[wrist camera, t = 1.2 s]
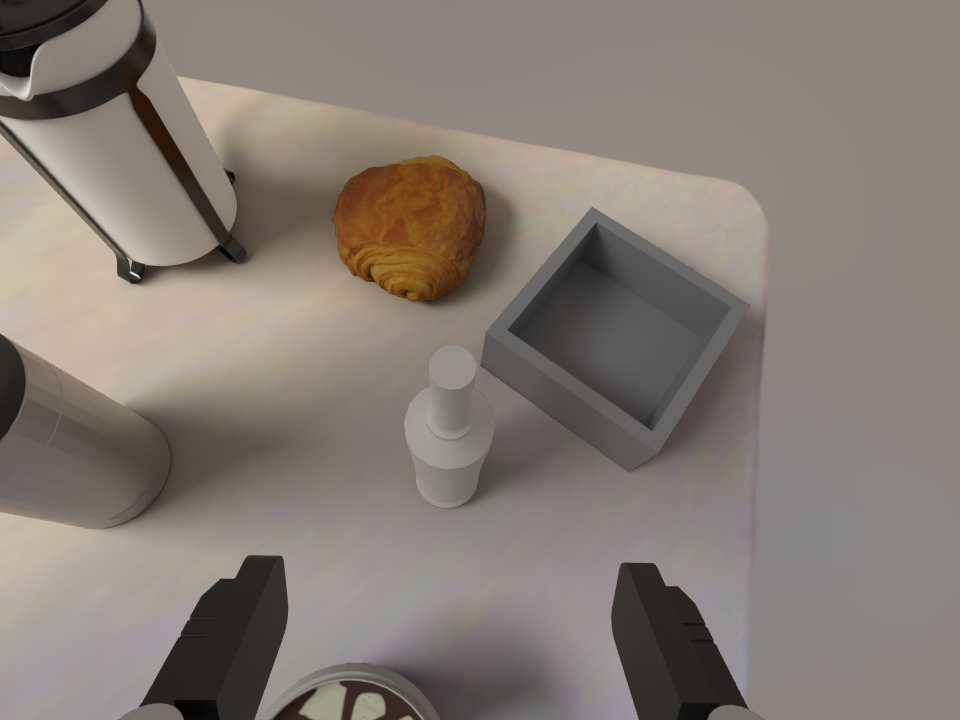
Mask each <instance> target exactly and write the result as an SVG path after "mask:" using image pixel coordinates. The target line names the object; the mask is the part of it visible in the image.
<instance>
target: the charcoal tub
mask: <svg viewBox="0 0 960 720" xmlns="http://www.w3.org/2000/svg"><path fill="white" fill-rule="evenodd" d="M750 306H751V305H749V304H747V303H746V302H744V301H743V300H741V299H739V298H738V297H736V296H735V295H733V294H731V293H730V292H728V291H727V290H725V289H723V288H722V287H720V286H719V285H717V284H715V283H714V282H712V281H711V280H709V279H707V278H706V277H704V276H703V275H701V274H699V273H698V272H696V271H694V270H693V269H691V268H690V267H688V266H686V265H685V264H683V263H682V262H680V261H678V260H677V259H675V258H674V257H672V256H670V255H669V254H667V253H666V252H664V251H662V250H661V249H659V248H658V247H656V246H654V245H653V244H651V243H650V242H648V241H646V240H645V239H643V238H641V237H640V236H638V235H637V234H635V233H633V232H632V231H630V230H629V229H627V228H625V227H624V226H622V225H621V224H619V223H617V222H616V221H614V220H613V219H611V218H609V217H608V216H606V215H605V214H603V213H601V212H600V211H598V210H597V209H595V208H593V207H592V208H591V209H590V210H589V211H588V212H587V213H586V215H585V216H584V217H583V218H582V219H581V221H580V222H579V223H578V224H577V225H576V226H575V228H574V229H573V230H572V231H571V232H570V234H569V235H568V236H567V237H566V238H565V240H564V241H563V242H562V243H561V244H560V245H559V247H558V248H557V249H556V250H555V251H554V253H553V254H552V255H551V256H550V257H549V258H548V260H547V261H546V262H545V263H544V264H543V266H542V267H541V268H540V269H539V270H538V271H537V273H536V274H535V275H534V276H533V277H532V279H531V280H530V281H529V282H528V283H527V284H526V286H525V287H524V288H523V289H522V290H521V292H520V293H519V294H518V295H517V296H516V298H515V299H514V300H513V301H512V302H511V303H510V305H509V306H508V307H507V308H506V309H505V311H504V312H503V313H502V314H501V315H500V316H499V318H498V319H497V320H496V321H495V322H494V324H493V325H492V326H491V327H490V328H489V329H488V331H487V332H486V336H485V342H484V348H483V354H482V360H481V366H482V367H483V368H485V369H486V370H488V371H489V372H490V373H492V374H493V375H494V376H496V377H497V378H499V379H500V380H501V381H503V382H504V383H506V384H507V385H508V386H510V387H511V388H513V389H514V390H515V391H517V392H518V393H519V394H521V395H522V396H524V397H525V398H526V399H528V400H529V401H531V402H532V403H533V404H535V405H536V406H538V407H539V408H540V409H542V410H543V411H544V412H546V413H547V414H549V415H550V416H551V417H553V418H554V419H556V420H557V421H558V422H560V423H561V424H563V425H564V426H565V427H567V428H568V429H570V430H571V431H572V432H574V433H575V434H576V435H578V436H579V437H581V438H582V439H583V440H585V441H586V442H588V443H589V444H590V445H592V446H593V447H595V448H596V449H597V450H599V451H600V452H601V453H603V454H604V455H606V456H607V457H608V458H610V459H611V460H613V461H614V462H615V463H617V464H618V465H620V466H621V467H622V468H624V469H625V470H627V471H628V472H630V471H632V470H633V469H635V468H636V467H638V466H639V465H641V464H643V463H644V462H646V461H647V460H649V459H650V458H652V457H653V456H655V455H656V454H658V453H659V451H660V450H661V448H662V447H663V445H664V443H665V442H666V440H667V439H668V437H669V435H670V434H671V432H672V431H673V429H674V427H675V426H676V424H677V423H678V421H679V419H680V418H681V416H682V415H683V413H684V411H685V410H686V408H687V407H688V405H689V403H690V402H691V400H692V398H693V397H694V395H695V394H696V392H697V390H698V389H699V387H700V386H701V384H702V382H703V381H704V379H705V378H706V376H707V374H708V373H709V371H710V370H711V368H712V366H713V365H714V363H715V362H716V360H717V358H718V357H719V355H720V354H721V352H722V350H723V349H724V347H725V346H726V344H727V342H728V341H729V339H730V338H731V336H732V334H733V333H734V331H735V330H736V328H737V326H738V325H739V323H740V322H741V320H742V318H743V317H744V315H745V314H746V312H747V310H748V309H749V307H750Z"/></svg>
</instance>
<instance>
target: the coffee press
mask: <svg viewBox="0 0 960 720" xmlns="http://www.w3.org/2000/svg"><path fill="white" fill-rule="evenodd" d="M0 133H1V134H2V136H3V137H4V138H5V139H6V140H7V141H8V142H9V143H10V144H11V145H12V146H13V147H14V148H15V149H16V150H17V151H18V152H19V153H20V154H21V155H22V156H23V157H24V158H25V160H26V161H27V162H28V163H29V164H30V165H31V166H32V167H33V168H34V169H35V170H36V171H37V172H38V173H39V174H40V175H41V176H42V177H43V178H44V179H45V180H46V181H47V182H48V184H49V185H50V186H51V187H52V188H53V189H54V190H55V191H56V192H57V193H58V194H59V195H60V196H61V197H62V198H63V199H64V200H65V201H66V202H67V203H68V204H69V205H70V206H71V208H72V209H73V210H74V211H75V212H76V213H77V214H78V215H79V216H80V217H81V218H82V219H83V220H84V221H85V222H86V223H87V224H88V225H89V226H90V227H91V228H92V229H93V230H94V232H95V233H96V234H97V235H98V236H99V237H100V238H101V239H102V240H103V241H104V242H105V243H106V244H107V245H108V246H109V247H110V248H111V249H112V251H113V252H114V253H115V255H116V258H117V274H118V276H119V277H121V278H122V279H124V280H126V281H128V282H129V283H131V284H136V283H138V282H140V281H141V279H142V277H143V274H144V268H145V264H147V265H154V266H171V265H178V264H183V263H187V262H190V261H193V260H195V259H197V258H200V257H202V256H203V255H205V254H207V253H208V252H210V251H211V250H213V249H214V248H216V249H217V250H219V251H220V252H221V253H222V254H224V255H225V256H226V257H227V258H228V259H230V260H231V261H233V262H234V263H239V262H240V260H241V259H242V258H243V257H244V256H245V255H246V254H247V252H246V250H245V249H244V248H243V247H242V246H241V245H240V244H239V243H238V242H237V241H236V240H235V239H234V238H233V237H232V236H231V235H230V234H229V231H230V230H231V228H232V226H233V223H234V220H235V217H236V211H237V201H236V196H235V192H234V190H233V187H232V184H233V182H234V180H235V175H234V173H233V172H231V171H229V170H227V169H225V168H223V167H222V165H221V163H220V161H219V159H218V157H217V155H216V153H215V151H214V149H213V147H212V145H211V143H210V141H209V139H208V137H207V135H206V133H205V132H204V130H203V128H202V126H201V124H200V122H199V120H198V118H197V116H196V114H195V112H194V110H193V108H192V106H191V104H190V102H189V100H188V98H187V96H186V94H185V93H184V91H183V89H182V87H181V85H180V83H179V81H178V79H177V77H176V75H175V73H174V71H173V69H172V67H171V65H170V63H169V61H168V59H167V57H166V55H165V54H164V52H163V50H162V48H161V46H160V44H159V42H158V40H157V38H156V31H155V28H154V25H153V23H152V21H151V19H150V17H149V15H148V13H147V11H146V9H145V7H144V5H143V3H142V1H141V0H0ZM126 257H127V258H129V259H131V260H132V266H131V271H130V265H129V261H128V259H127V258H126Z"/></svg>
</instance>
